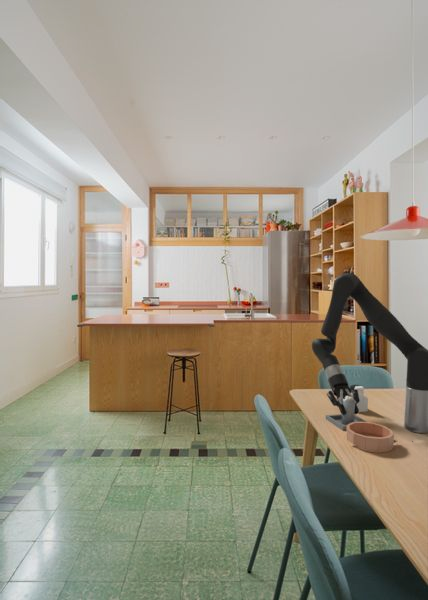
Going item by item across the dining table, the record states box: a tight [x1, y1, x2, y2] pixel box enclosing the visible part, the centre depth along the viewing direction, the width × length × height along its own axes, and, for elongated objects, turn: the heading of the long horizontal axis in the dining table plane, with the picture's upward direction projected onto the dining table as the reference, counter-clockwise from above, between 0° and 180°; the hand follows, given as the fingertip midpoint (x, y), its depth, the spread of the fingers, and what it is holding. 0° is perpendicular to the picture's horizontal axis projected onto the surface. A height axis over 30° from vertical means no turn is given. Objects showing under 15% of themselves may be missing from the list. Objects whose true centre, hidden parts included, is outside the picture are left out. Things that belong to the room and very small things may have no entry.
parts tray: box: [325, 413, 368, 431], centre depth 166 cm, size 13×13×2 cm
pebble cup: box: [341, 396, 356, 425], centre depth 165 cm, size 5×5×11 cm
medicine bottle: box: [349, 384, 369, 413], centre depth 183 cm, size 7×7×12 cm
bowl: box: [345, 421, 395, 454], centre depth 149 cm, size 16×16×5 cm
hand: (350, 413), depth 164 cm, fingers closed on pebble cup, 5 cm apart
